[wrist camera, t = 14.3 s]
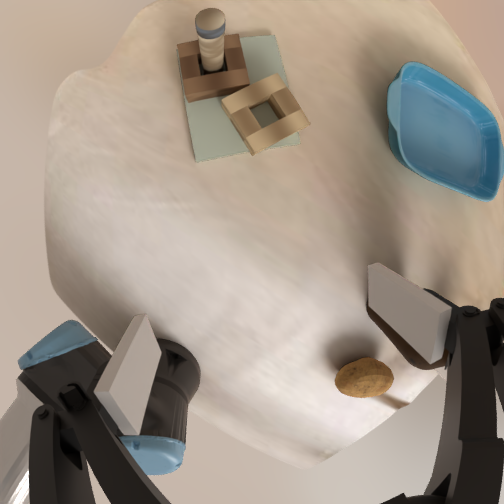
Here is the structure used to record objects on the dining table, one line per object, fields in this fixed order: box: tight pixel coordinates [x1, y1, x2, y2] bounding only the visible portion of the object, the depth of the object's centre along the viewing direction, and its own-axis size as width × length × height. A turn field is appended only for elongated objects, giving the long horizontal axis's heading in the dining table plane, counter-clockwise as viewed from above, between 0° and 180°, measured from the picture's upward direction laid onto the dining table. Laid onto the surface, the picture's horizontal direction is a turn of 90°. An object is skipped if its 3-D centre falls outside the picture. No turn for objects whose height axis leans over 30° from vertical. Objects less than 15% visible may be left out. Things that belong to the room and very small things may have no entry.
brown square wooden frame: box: [177, 34, 250, 103], centre depth 33 cm, size 9×9×4 cm
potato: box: [335, 357, 394, 398], centre depth 49 cm, size 10×14×8 cm
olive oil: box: [367, 298, 449, 370], centre depth 37 cm, size 11×11×25 cm
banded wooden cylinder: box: [195, 8, 225, 75], centre depth 27 cm, size 3×3×16 cm
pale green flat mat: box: [177, 35, 301, 163], centre depth 37 cm, size 16×20×1 cm
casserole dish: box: [387, 62, 504, 202], centre depth 39 cm, size 37×22×7 cm, turn 83°
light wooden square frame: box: [221, 73, 310, 156], centre depth 36 cm, size 9×9×4 cm
